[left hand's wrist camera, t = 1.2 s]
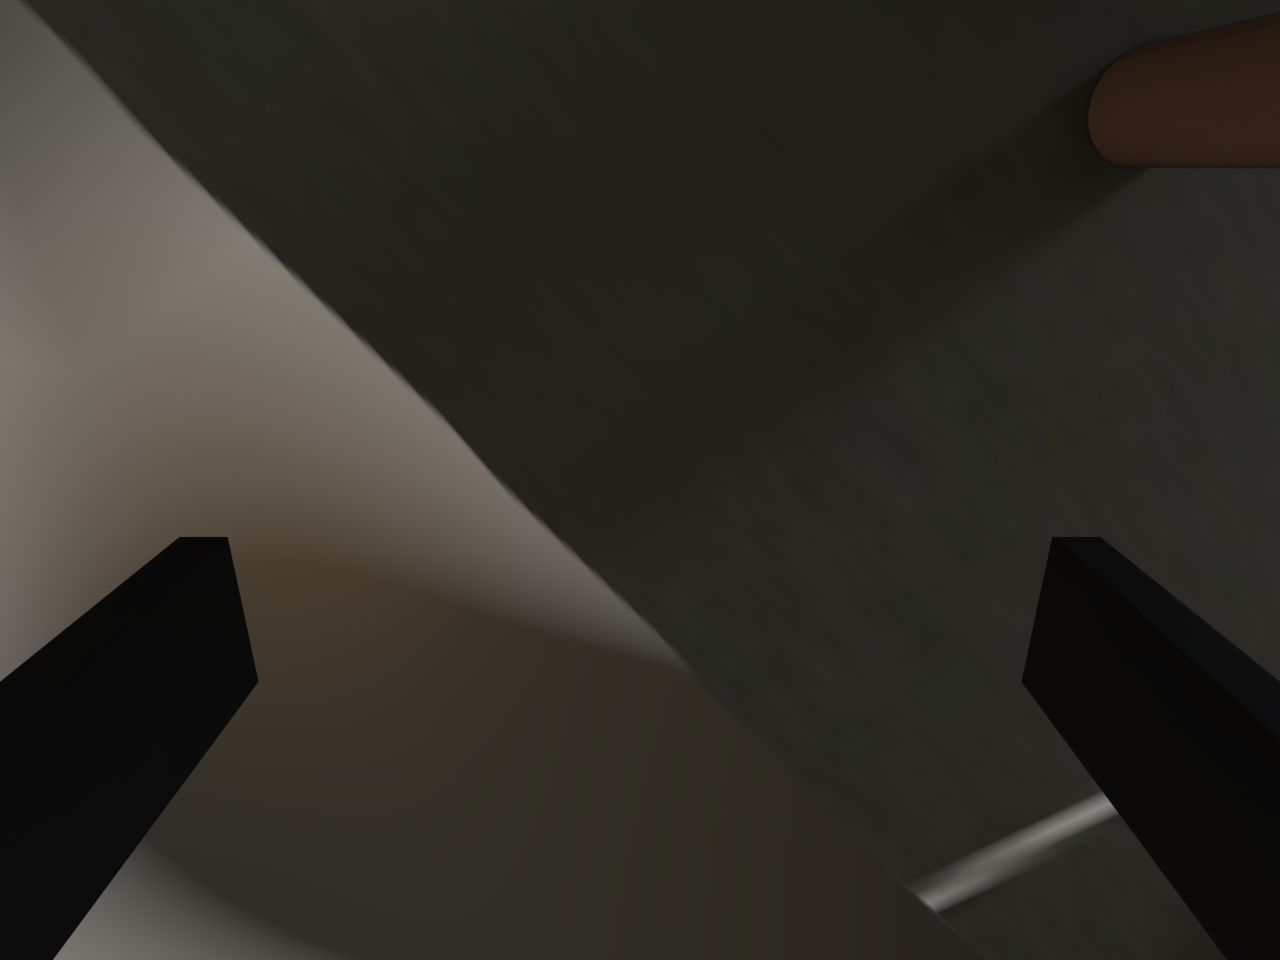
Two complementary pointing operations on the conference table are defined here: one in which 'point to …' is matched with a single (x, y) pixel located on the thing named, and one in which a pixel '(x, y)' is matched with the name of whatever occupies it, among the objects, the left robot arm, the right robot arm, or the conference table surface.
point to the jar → (1194, 100)
